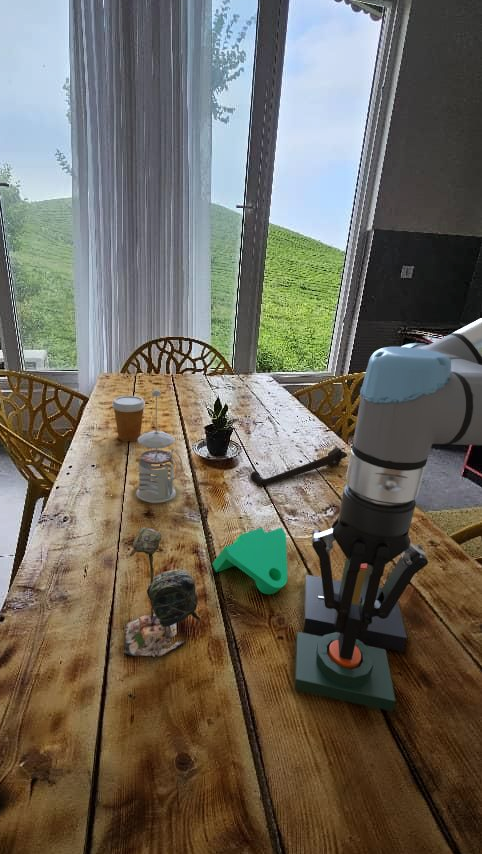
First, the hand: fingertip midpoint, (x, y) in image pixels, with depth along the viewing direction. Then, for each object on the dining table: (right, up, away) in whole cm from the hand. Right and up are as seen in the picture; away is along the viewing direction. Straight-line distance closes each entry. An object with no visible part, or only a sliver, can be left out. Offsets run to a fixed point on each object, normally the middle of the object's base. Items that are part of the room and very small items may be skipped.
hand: (344, 650), depth 58 cm
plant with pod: (-24, -1, +7) cm, 25 cm away
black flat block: (+4, -1, +11) cm, 12 cm away
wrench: (+7, +18, +59) cm, 62 cm away
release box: (0, -4, +2) cm, 5 cm away
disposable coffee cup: (-40, +27, +75) cm, 90 cm away
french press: (-28, +14, +45) cm, 55 cm away
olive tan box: (+4, +2, +10) cm, 11 cm away
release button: (0, -2, +1) cm, 2 cm away
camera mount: (-11, +9, +21) cm, 26 cm away
